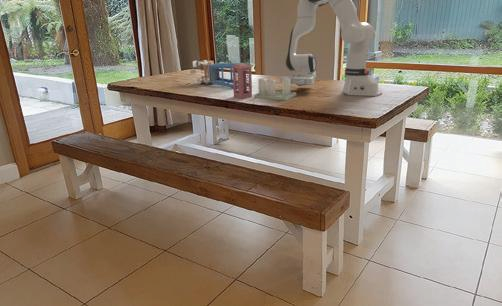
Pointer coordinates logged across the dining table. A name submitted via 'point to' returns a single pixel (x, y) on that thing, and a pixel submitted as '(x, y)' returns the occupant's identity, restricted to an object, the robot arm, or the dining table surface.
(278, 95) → the tray
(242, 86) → the miniature model
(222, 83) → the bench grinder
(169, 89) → the dining table surface
